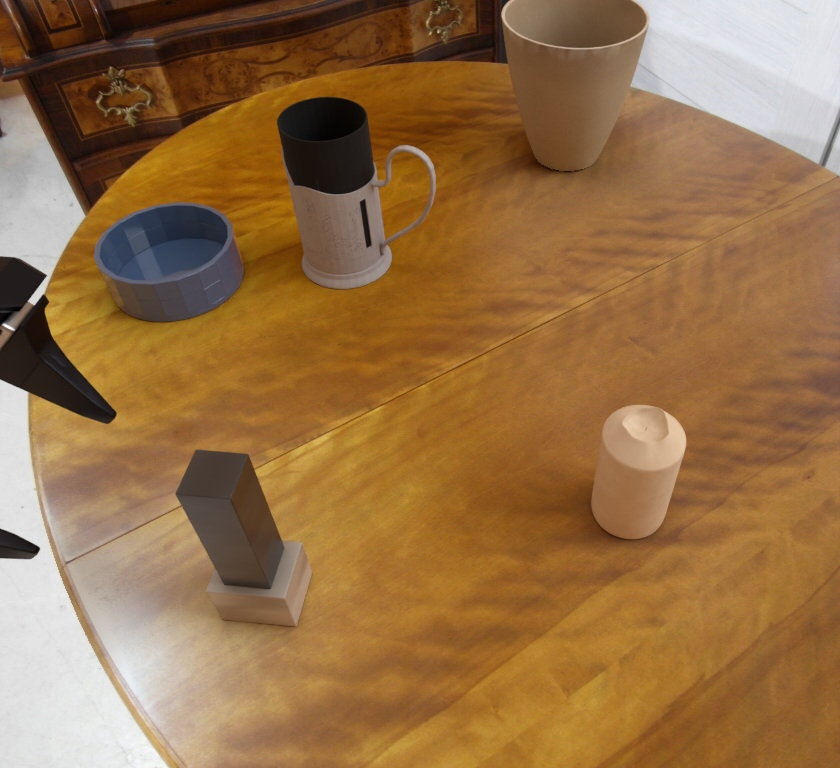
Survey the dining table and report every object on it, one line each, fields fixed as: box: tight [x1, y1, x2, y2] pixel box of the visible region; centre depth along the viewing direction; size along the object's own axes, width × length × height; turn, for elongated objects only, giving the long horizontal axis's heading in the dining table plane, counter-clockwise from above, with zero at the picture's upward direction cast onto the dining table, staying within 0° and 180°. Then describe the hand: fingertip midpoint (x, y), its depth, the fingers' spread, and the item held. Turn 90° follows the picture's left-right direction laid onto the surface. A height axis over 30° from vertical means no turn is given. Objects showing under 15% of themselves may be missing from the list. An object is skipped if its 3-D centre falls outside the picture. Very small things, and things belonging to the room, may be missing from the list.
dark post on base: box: [174, 449, 313, 627], centre depth 47 cm, size 5×4×14 cm
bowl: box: [93, 201, 245, 323], centre depth 72 cm, size 12×12×4 cm
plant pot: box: [500, 0, 651, 172], centre depth 84 cm, size 15×15×16 cm
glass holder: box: [276, 96, 437, 290], centre depth 70 cm, size 9×14×15 cm, turn 73°
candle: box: [590, 404, 687, 540], centre depth 53 cm, size 6×6×10 cm
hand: (77, 481), depth 44 cm, fingers open, 9 cm apart
